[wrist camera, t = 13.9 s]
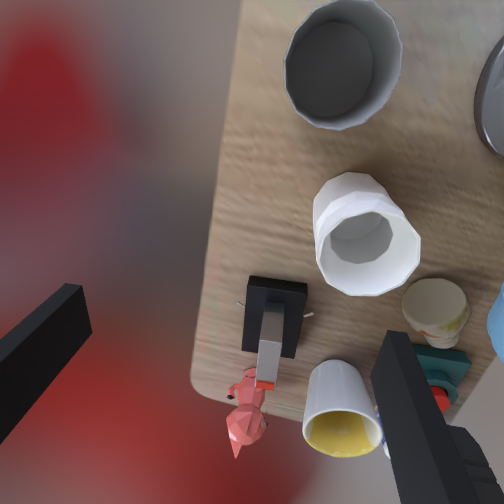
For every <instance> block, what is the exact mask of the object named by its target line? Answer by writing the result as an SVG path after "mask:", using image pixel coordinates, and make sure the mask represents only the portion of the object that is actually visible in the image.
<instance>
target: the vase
mask: <svg viewBox="0 0 504 504" xmlns="http://www.w3.org/2000/svg"><path fill="white" fill-rule="evenodd" d="M313 229H314V237H315V245H316V261H317V264H318V266H319V268H320V270H321V272H322V274H323V276H324V278H325V280H326V282H327V283H328V284H329V285H331V286H333V287H335V288H337V289H338V290H340V291H342V292H344V293H345V294H347V295H349V296H378V295H381V294H383V293H385V292H387V291H390V290H392V289H394V288H396V287H399V286H401V285H403V284H404V282H405V281H406V280H407V279H408V277H409V276H410V275H411V273H412V272H413V271H414V270H415V268H416V267H417V266H418V265H419V263H420V239H421V237H420V236H419V235H418V233H417V232H416V231H415V230H414V228H413V227H412V226H411V225H410V223H409V222H408V220H407V219H406V217H405V215H404V213H403V211H401V209H400V208H399V207H398V206H397V205H396V204H395V203H394V202H393V201H392V200H391V198H390V197H389V195H388V193H387V191H386V189H385V188H384V187H383V186H381V185H380V184H379V183H378V182H377V181H376V180H375V179H373V178H372V177H371V176H370V175H369V174H363V173H354V172H345V173H343V174H341V175H339V176H337V177H334V178H332V179H330V180H328V181H326V183H325V184H324V185H323V187H322V188H321V190H320V191H319V192H318V194H317V195H316V197H315V198H314V202H313Z"/></svg>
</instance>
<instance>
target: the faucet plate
mask: <svg viewBox="0 0 504 504" xmlns="http://www.w3.org/2000/svg"><path fill="white" fill-rule="evenodd" d="M306 299H307V283H300V282H292V281H285V280H278V279H271V278H264V277H257V276H250V277H249V281H248V285H247V294H246V305H245V306H244V305H243V304H241V303H240V302H238V301H237V302H236V304H238V305H239V306H241V307H242V308H245V316H244V328H243V339H242V351H247V352H254V353H258V350H259V341H260V334H261V328H262V321H263V314H264V308H265V301H270V302H278V303H284V304H285V306H284V322H283V339H282V348H281V354H280V357H285V358H292V359H294V358H295V353H296V348H297V343H298V338H299V333H300V328H301V323H302V319H303V316H304V317H307V316H311V315H314V313H313V312H311V313H308V314H304V309H305V304H306ZM303 314H304V315H303Z"/></svg>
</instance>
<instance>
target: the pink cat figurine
mask: <svg viewBox="0 0 504 504" xmlns="http://www.w3.org/2000/svg"><path fill="white" fill-rule="evenodd" d="M246 374H247V376H248V377H244V378H243V381H242V382H240V384H234V385H233V386H231V387H230V388H229V389H228V392H229V395H227V398H228V399H230V400H231V399H233V398H235V395H234V390H235V389H238V391H237V394H238V400H239V407H238V408H236V409H235V410H234V411H233V412H231V413H230V415H229V416H228V417H227V418H226V421H227V426H228V431H229V436H230V440H231V444H232V448H233V451H234V455H235V458H236V457H237V455H238V453H239V450H240V448H241V446H242V445H249V444H251V443H253V442H255V441H256V440H257V439H259V438H260V437H261V435H262V433H263V431H264V429H265V427H266V426H267V425H268V423H267V422H266V420H265V421H264V419H265V418H264V419H263V417H262V414H261V411H260V408H261V406H262V404H263V402H264V400H265V389H260V388H255V377H256V368H250V369H248V370H246ZM267 407H268V406H267ZM267 410H268V409H267ZM266 413H267V412H266ZM265 423H266V425H265Z"/></svg>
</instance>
